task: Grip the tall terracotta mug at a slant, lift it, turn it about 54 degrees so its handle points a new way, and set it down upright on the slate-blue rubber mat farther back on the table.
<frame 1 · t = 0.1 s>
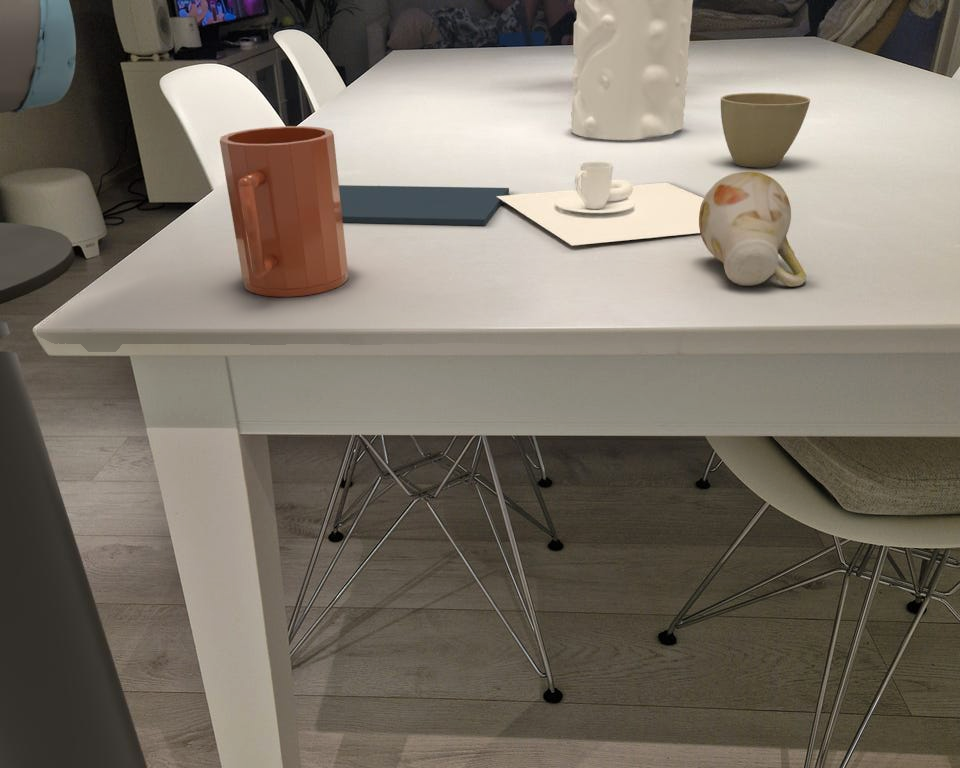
vase: (625, 133, 131), on the table
tall mug: (296, 280, 75), on the table
floral patterned cup: (746, 275, 74), on the table
flower pot: (756, 165, 110), on the table
mat: (403, 206, 96), on the table
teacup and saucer: (624, 212, 91), on the table, touching mat
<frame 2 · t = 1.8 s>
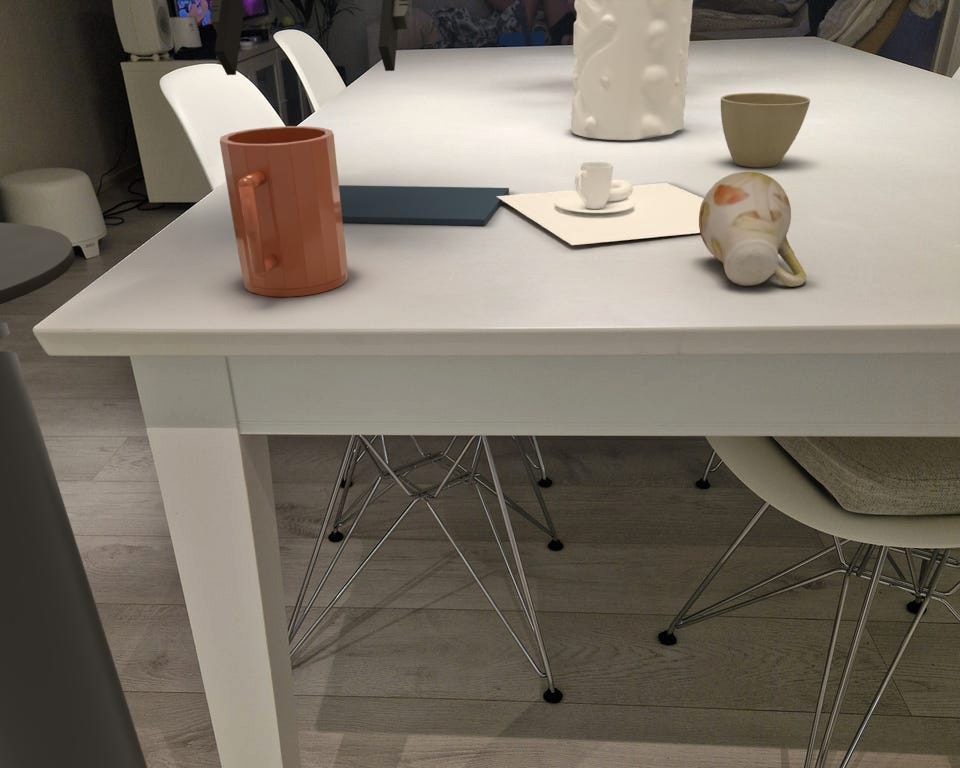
hand: (305, 61, 75), 15 cm above the table, tool tilted 45°, fingers open, 13 cm apart
nothing on the table moved.
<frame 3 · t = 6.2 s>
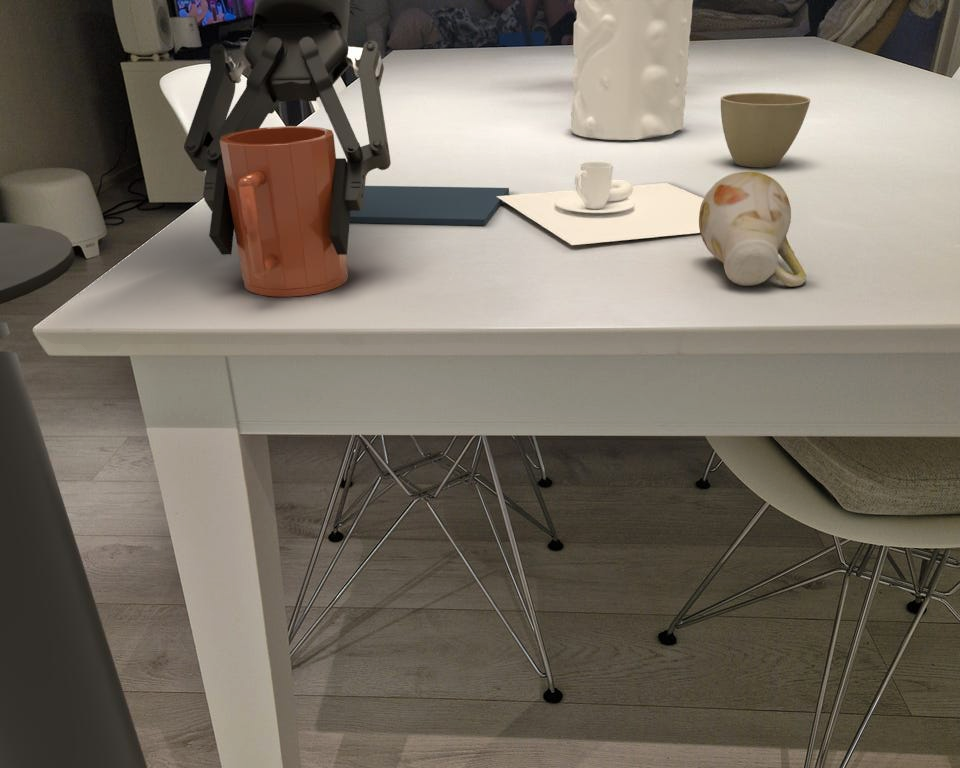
hand: (279, 245, 70), 4 cm above the table, tool tilted 45°, fingers closed on tall mug, 8 cm apart
tall mug: (296, 280, 75), on the table, touching gripper
everything else where it was.
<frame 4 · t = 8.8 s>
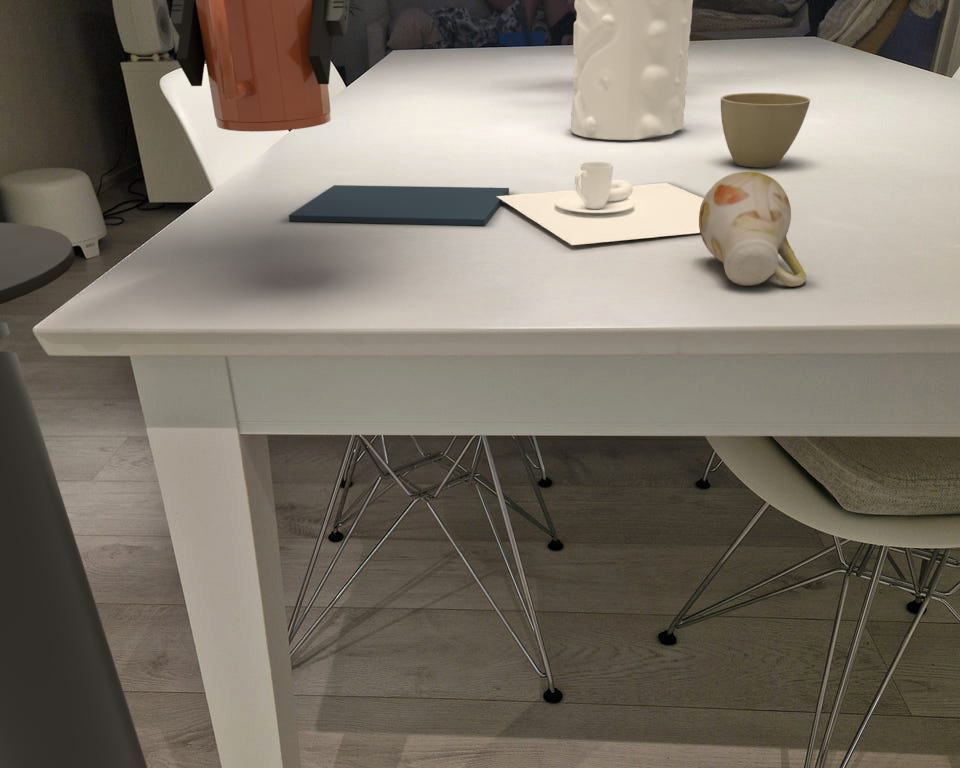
hand: (253, 71, 64), 16 cm above the table, tool tilted 45°, fingers closed on tall mug, 8 cm apart
tall mug: (274, 122, 69), point 12 cm above the table, touching gripper
everything else where it was.
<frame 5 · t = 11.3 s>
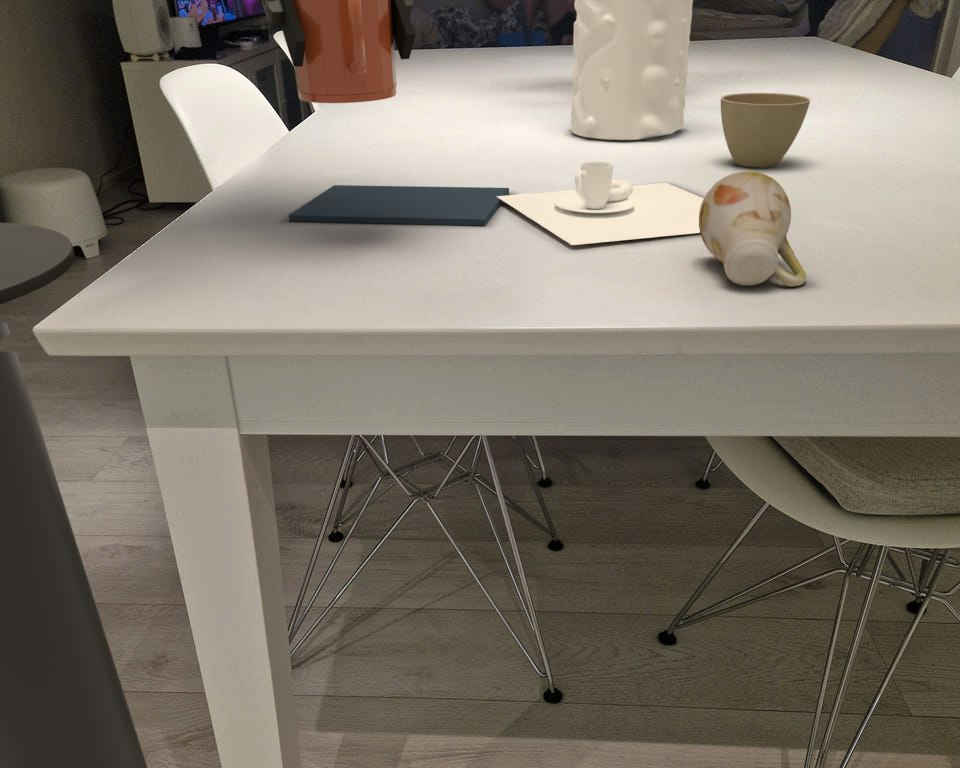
hand: (354, 50, 75), 16 cm above the table, tool tilted 45°, fingers closed on tall mug, 8 cm apart
tall mug: (348, 96, 80), point 12 cm above the table, touching gripper
everything else where it was.
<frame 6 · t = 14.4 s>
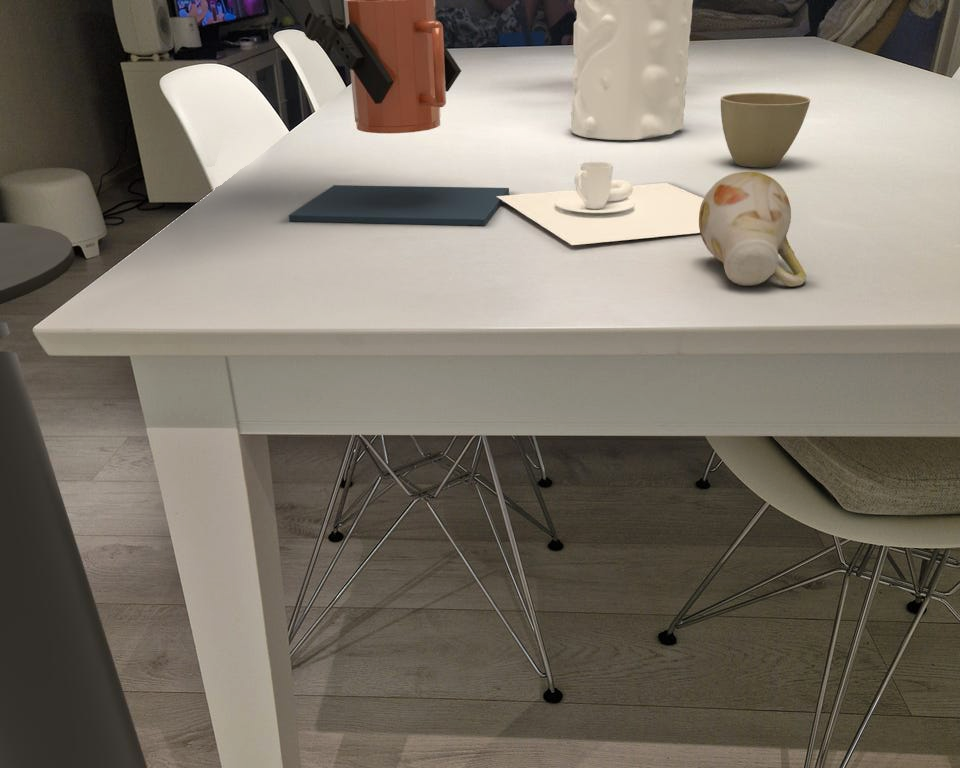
hand: (419, 86, 88), 11 cm above the table, tool tilted 45°, fingers closed on tall mug, 8 cm apart
tall mug: (398, 126, 92), point 8 cm above the table, touching gripper
everything else where it was.
when the fingers open (4 cm above the table, at t = 16.9 s): tall mug stays where it is, resting on mat.
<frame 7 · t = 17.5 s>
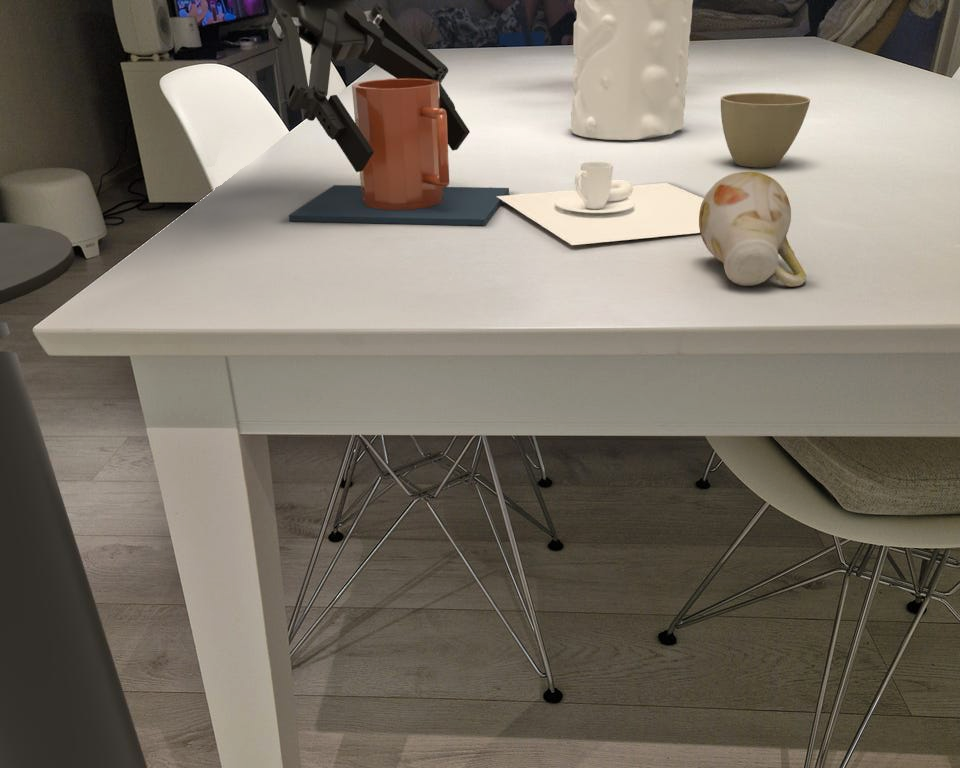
hand: (415, 151, 92), 6 cm above the table, tool tilted 45°, fingers open, 13 cm apart
tall mug: (403, 200, 96), point 1 cm above the table, touching mat
everything else where it was.
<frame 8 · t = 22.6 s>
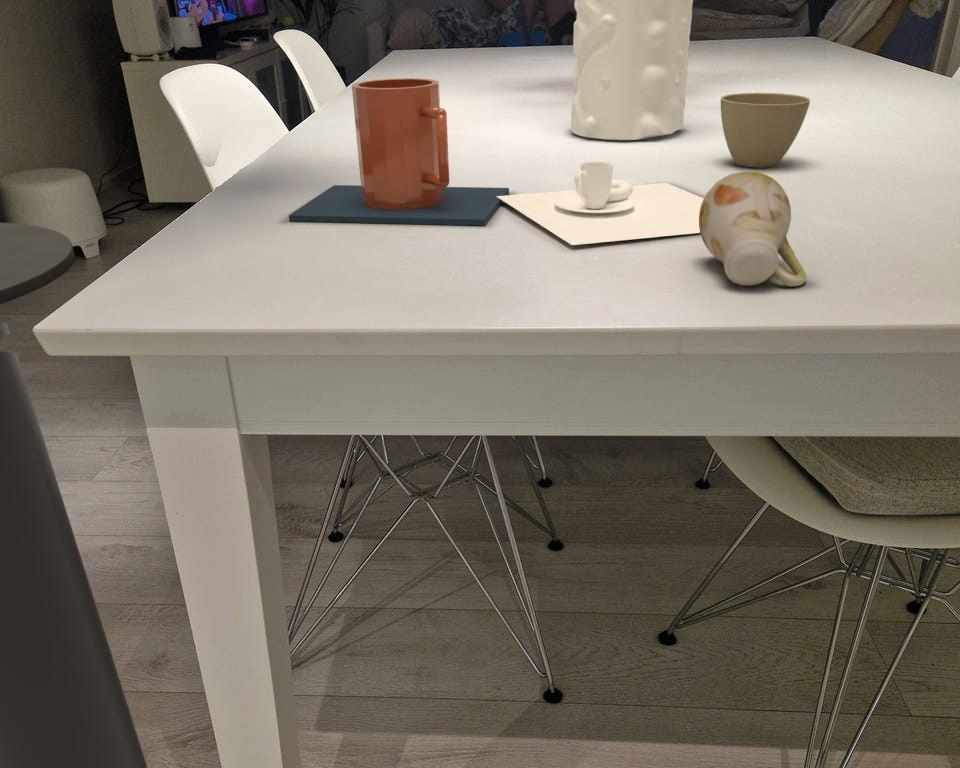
nothing on the table moved.
at the end: tall mug inside the target area on the mat (0.1 cm from its centre), point 0.6 cm above the mat's base; tall mug tilted 0°; the gripper is holding nothing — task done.
